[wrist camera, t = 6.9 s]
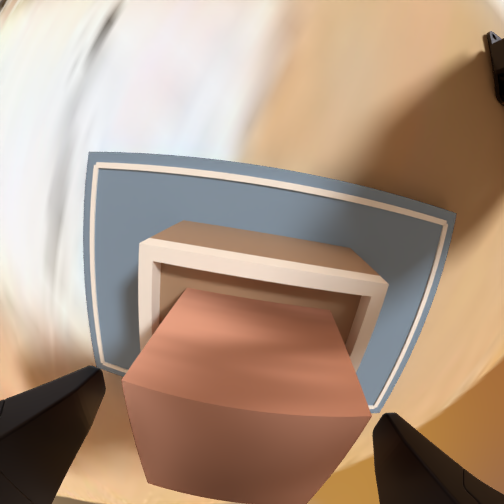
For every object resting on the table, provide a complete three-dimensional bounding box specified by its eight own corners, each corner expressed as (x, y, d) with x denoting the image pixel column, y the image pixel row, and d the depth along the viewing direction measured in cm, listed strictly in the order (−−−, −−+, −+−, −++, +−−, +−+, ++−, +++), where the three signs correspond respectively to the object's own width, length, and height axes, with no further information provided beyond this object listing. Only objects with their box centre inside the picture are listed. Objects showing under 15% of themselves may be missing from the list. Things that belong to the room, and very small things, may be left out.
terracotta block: (330, 309, 9) (371, 415, 4) (297, 408, 11) (304, 505, 6) (187, 287, 9) (121, 380, 5) (183, 390, 11) (147, 482, 6)
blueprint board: (447, 211, 13) (516, 231, 7) (375, 403, 16) (397, 463, 11) (98, 152, 13) (26, 148, 8) (102, 359, 17) (62, 409, 11)
